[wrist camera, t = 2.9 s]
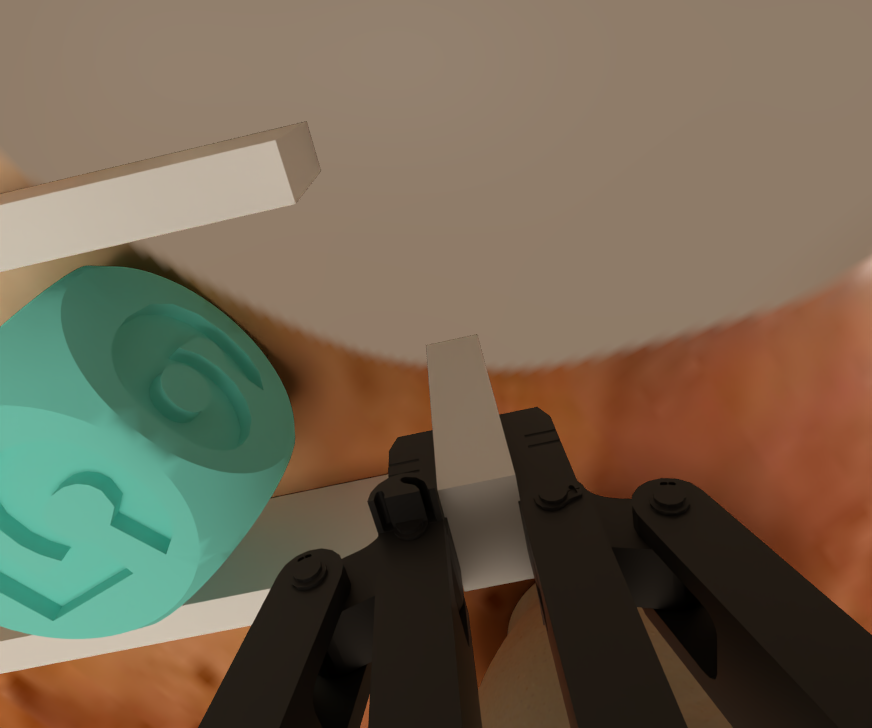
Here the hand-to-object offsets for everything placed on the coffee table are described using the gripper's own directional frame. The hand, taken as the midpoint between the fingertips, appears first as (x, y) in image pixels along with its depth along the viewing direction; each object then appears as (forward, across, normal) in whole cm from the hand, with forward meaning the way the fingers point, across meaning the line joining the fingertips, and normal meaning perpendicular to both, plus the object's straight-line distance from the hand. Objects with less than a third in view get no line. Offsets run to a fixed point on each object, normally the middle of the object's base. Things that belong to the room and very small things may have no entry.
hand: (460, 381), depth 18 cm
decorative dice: (+5, -11, 0) cm, 12 cm away
